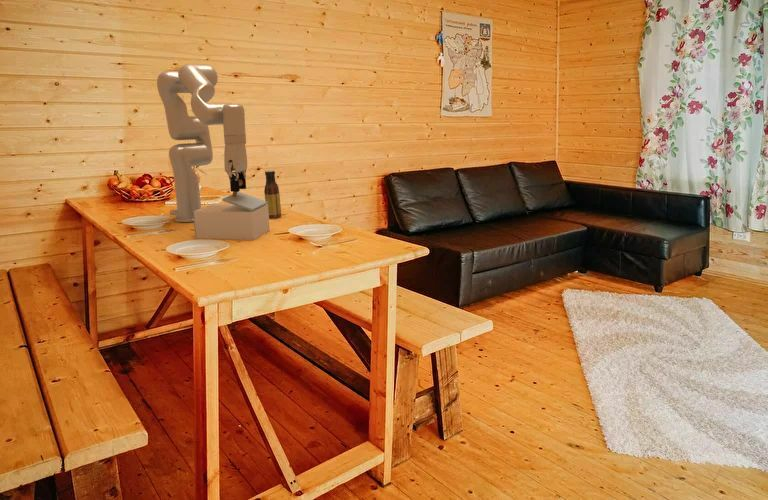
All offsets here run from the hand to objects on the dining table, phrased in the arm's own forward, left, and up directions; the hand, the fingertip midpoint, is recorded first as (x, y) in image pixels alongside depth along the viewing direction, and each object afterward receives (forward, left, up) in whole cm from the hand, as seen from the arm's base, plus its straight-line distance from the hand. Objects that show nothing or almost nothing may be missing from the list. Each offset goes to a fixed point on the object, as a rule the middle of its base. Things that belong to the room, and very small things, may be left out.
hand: (238, 189), depth 209 cm
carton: (-3, 0, -17) cm, 17 cm away
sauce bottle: (+1, +32, -17) cm, 36 cm away
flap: (+2, 0, -5) cm, 5 cm away
